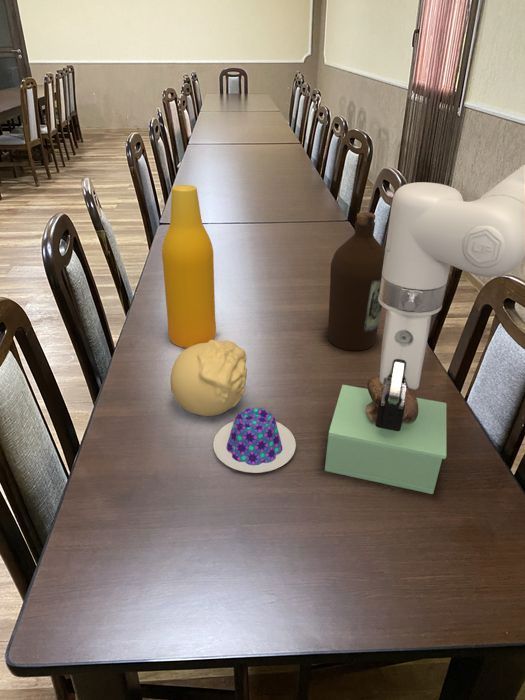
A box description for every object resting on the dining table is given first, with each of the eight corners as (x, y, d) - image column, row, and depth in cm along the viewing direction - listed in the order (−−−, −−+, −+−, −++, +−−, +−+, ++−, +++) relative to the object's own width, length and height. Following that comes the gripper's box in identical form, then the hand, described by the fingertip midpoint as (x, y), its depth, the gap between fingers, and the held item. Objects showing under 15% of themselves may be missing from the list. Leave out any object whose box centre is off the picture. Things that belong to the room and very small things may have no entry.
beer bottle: (220, 327, 109) (216, 182, 94) (210, 351, 101) (204, 196, 86) (175, 324, 110) (165, 179, 95) (162, 347, 102) (149, 193, 87)
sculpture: (234, 431, 81) (234, 372, 76) (161, 417, 84) (155, 359, 78) (255, 389, 91) (256, 334, 85) (188, 378, 93) (185, 323, 88)
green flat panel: (445, 406, 77) (446, 402, 77) (445, 459, 68) (446, 455, 67) (342, 387, 81) (342, 384, 80) (328, 435, 71) (328, 432, 71)
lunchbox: (434, 439, 81) (442, 406, 77) (433, 494, 71) (442, 459, 68) (338, 420, 84) (342, 388, 81) (324, 471, 74) (328, 436, 71)
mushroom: (349, 409, 70) (380, 372, 68) (352, 395, 78) (380, 362, 76) (398, 448, 69) (431, 411, 68) (396, 430, 77) (425, 397, 75)
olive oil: (314, 342, 105) (325, 216, 92) (338, 321, 112) (351, 202, 99) (365, 359, 100) (383, 228, 87) (386, 335, 107) (406, 212, 94)
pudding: (288, 483, 72) (290, 453, 70) (203, 469, 74) (201, 439, 72) (301, 427, 82) (303, 399, 80) (225, 416, 84) (224, 389, 82)
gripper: (443, 329, 56) (415, 456, 65) (444, 268, 70) (421, 379, 80) (371, 319, 58) (354, 444, 67) (386, 261, 72) (370, 370, 81)
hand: (390, 408), depth 73 cm, fingers closed on mushroom, 7 cm apart
